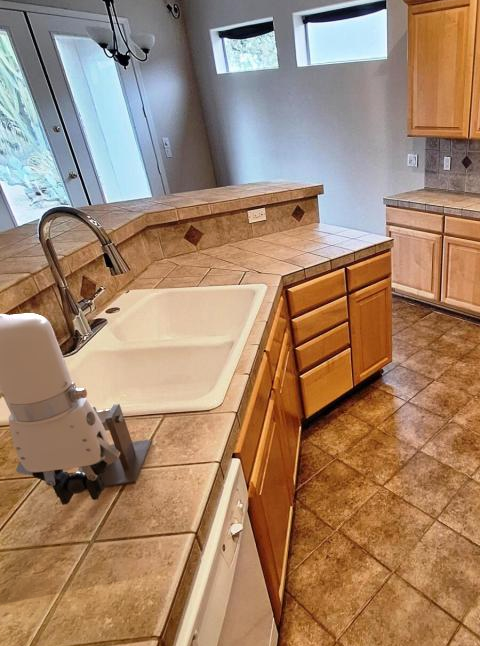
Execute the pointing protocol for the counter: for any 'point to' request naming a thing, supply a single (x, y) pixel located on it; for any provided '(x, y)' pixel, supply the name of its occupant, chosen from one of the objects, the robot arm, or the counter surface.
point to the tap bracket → (123, 452)
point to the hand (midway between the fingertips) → (83, 494)
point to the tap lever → (78, 479)
